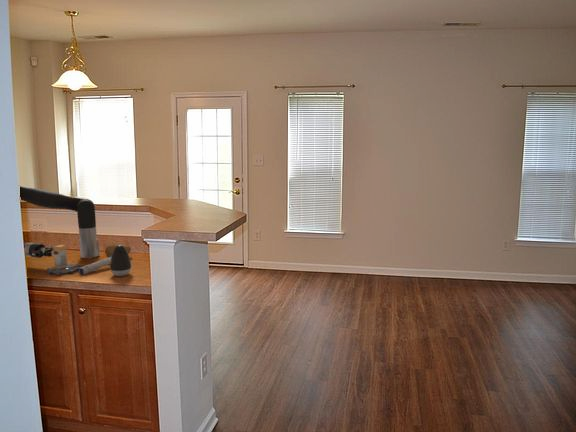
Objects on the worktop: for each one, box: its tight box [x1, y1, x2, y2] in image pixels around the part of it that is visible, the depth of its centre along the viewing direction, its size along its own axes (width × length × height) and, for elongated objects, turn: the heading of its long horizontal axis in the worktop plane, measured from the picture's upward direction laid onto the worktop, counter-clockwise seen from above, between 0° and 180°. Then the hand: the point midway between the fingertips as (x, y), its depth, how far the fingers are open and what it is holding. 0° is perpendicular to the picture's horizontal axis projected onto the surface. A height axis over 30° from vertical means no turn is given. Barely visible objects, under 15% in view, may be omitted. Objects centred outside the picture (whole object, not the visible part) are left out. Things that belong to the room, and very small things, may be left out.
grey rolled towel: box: [77, 257, 111, 276], centre depth 252 cm, size 5×7×25 cm
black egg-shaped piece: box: [109, 245, 132, 277], centre depth 241 cm, size 10×10×15 cm
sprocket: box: [46, 263, 82, 277], centre depth 249 cm, size 17×17×2 cm
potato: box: [105, 243, 132, 258], centre depth 272 cm, size 9×16×9 cm, turn 144°
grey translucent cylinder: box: [52, 244, 68, 268], centre depth 250 cm, size 4×4×11 cm
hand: (57, 252), depth 250 cm, fingers open, 8 cm apart
